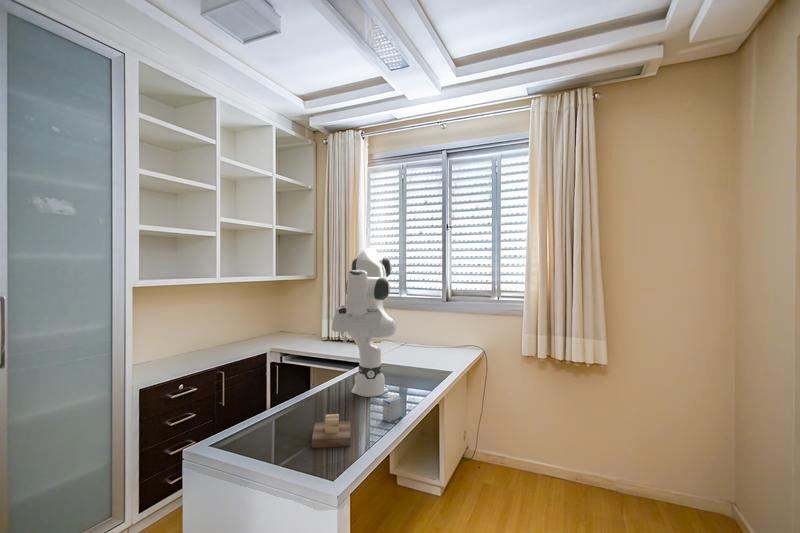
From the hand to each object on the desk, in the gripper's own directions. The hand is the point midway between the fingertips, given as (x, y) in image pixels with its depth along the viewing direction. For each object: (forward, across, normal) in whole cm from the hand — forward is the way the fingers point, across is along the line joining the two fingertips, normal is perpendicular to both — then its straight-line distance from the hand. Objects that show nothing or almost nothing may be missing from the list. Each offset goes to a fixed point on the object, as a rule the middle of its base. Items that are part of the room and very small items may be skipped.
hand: (356, 341), depth 155 cm
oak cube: (+31, +9, +12) cm, 35 cm away
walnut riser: (+34, +9, +12) cm, 37 cm away
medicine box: (+34, -16, -3) cm, 38 cm away
